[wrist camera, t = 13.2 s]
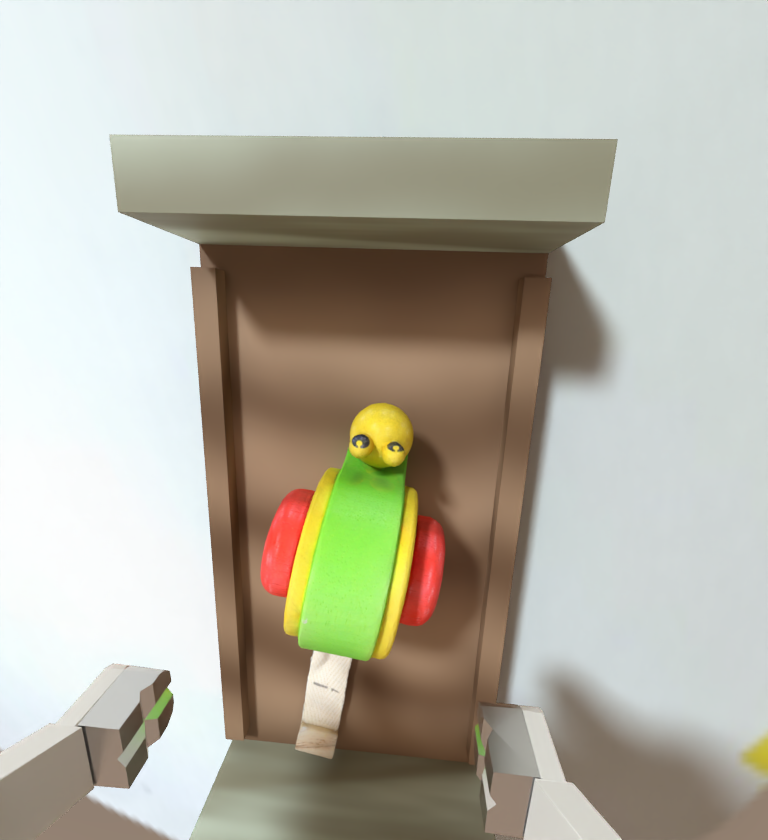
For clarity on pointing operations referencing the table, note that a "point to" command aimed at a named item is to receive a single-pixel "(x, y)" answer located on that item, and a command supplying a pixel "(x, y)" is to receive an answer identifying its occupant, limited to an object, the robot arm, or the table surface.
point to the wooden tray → (331, 422)
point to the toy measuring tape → (353, 565)
